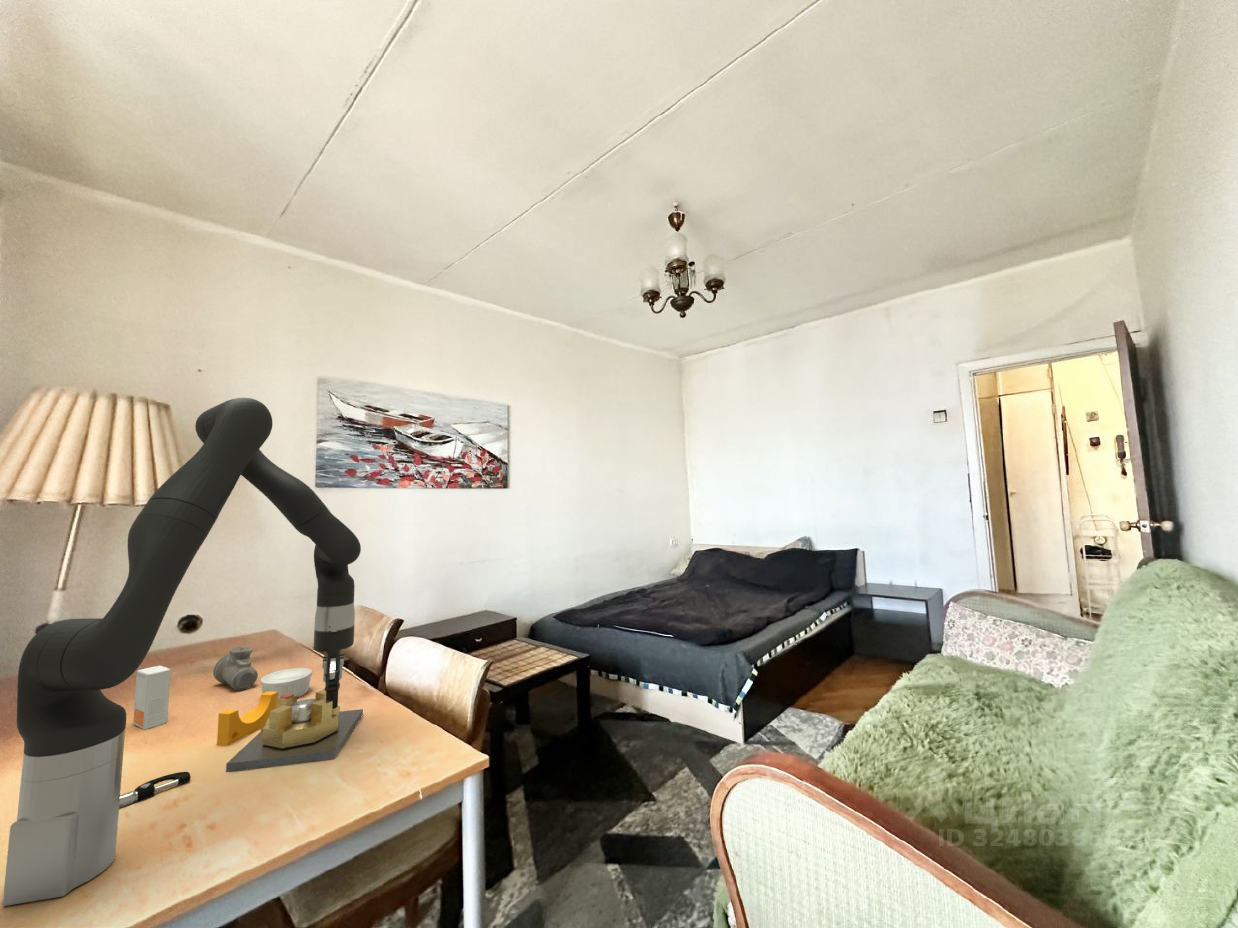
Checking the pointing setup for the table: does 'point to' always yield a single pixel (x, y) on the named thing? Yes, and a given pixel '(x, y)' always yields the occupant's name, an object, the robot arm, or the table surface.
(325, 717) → the ring nut
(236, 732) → the pipe clamp
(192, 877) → the table surface
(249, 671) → the pipe fitting
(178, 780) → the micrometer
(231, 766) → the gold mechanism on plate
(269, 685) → the ramekin
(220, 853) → the table surface
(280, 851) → the table surface
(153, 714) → the skincare box
